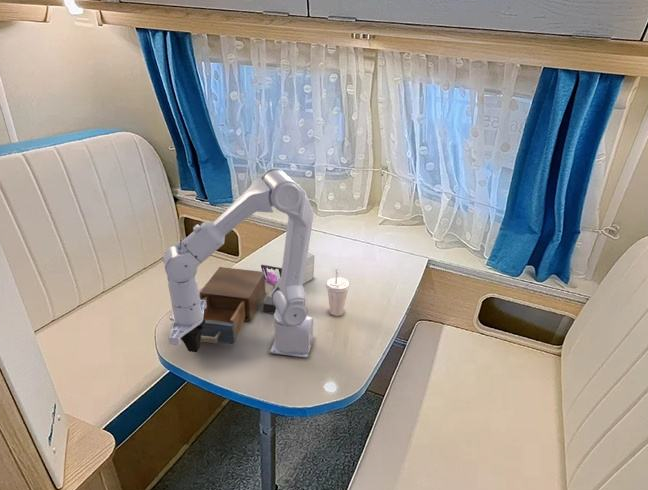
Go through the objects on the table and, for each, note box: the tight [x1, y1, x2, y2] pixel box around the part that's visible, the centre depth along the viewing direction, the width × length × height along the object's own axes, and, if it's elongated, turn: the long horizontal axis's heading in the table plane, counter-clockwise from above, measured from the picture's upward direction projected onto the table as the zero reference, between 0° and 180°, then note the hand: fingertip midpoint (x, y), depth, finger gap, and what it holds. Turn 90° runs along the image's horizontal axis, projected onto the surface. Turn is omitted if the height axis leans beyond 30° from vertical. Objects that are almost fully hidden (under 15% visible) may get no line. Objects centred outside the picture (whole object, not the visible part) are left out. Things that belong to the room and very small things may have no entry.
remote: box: [262, 295, 276, 314], centre depth 121 cm, size 4×8×3 cm, turn 82°
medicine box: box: [303, 252, 315, 285], centre depth 134 cm, size 8×4×9 cm, turn 141°
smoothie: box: [326, 268, 351, 317], centre depth 119 cm, size 6×6×14 cm
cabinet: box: [199, 266, 266, 323], centre depth 121 cm, size 15×14×8 cm
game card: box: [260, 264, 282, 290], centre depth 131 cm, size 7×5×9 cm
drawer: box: [200, 296, 247, 346], centre depth 110 cm, size 18×12×6 cm
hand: (193, 350), depth 98 cm, fingers closed
